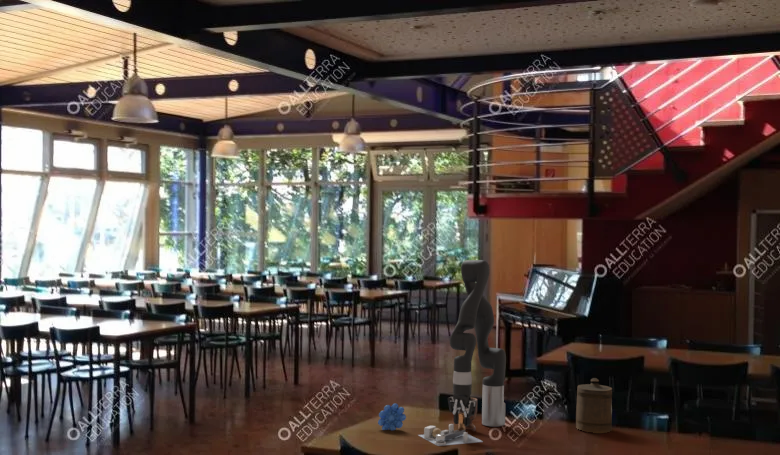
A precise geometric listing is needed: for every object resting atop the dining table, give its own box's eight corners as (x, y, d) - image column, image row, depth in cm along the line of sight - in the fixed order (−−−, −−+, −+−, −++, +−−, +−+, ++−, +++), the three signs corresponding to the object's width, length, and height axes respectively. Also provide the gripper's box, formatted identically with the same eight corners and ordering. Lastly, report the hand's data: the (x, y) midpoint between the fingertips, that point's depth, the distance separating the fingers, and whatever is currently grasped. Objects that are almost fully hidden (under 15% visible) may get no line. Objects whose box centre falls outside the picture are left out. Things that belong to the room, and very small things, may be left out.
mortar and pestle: (475, 435, 324) (475, 386, 325) (454, 433, 326) (455, 385, 327) (477, 428, 336) (478, 381, 336) (457, 427, 337) (458, 380, 338)
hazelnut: (439, 436, 315) (439, 426, 315) (444, 439, 311) (444, 429, 312) (430, 437, 314) (430, 427, 314) (434, 440, 310) (435, 429, 310)
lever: (441, 443, 302) (442, 421, 302) (432, 441, 305) (432, 420, 305) (467, 434, 318) (467, 413, 318) (458, 432, 320) (458, 412, 320)
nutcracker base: (461, 434, 325) (461, 419, 326) (483, 444, 309) (483, 429, 309) (417, 437, 317) (417, 423, 318) (438, 449, 301) (438, 433, 301)
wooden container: (618, 431, 337) (619, 379, 337) (595, 435, 329) (596, 382, 329) (592, 424, 349) (592, 374, 350) (568, 428, 341) (569, 376, 341)
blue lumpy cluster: (407, 430, 330) (407, 401, 330) (404, 434, 323) (405, 405, 323) (379, 429, 331) (380, 400, 332) (376, 432, 325) (377, 403, 325)
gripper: (482, 383, 316) (481, 426, 315) (455, 379, 326) (454, 420, 326) (469, 386, 310) (469, 429, 310) (442, 380, 321) (442, 423, 320)
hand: (461, 424), depth 318 cm, fingers open, 4 cm apart
